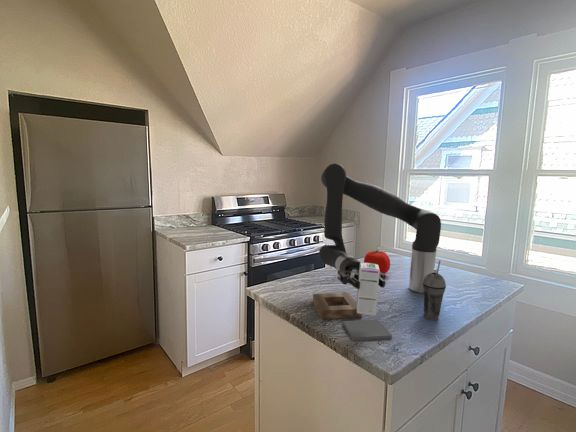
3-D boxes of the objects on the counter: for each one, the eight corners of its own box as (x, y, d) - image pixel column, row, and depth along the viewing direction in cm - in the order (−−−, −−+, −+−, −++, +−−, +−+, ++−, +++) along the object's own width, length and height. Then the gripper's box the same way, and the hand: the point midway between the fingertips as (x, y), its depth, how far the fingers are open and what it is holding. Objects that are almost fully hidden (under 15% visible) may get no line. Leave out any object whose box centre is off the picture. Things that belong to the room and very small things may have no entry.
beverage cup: (415, 312, 112) (420, 257, 109) (435, 312, 113) (440, 257, 110) (426, 322, 105) (431, 263, 102) (447, 321, 106) (453, 263, 103)
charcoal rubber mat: (377, 322, 104) (378, 319, 104) (391, 338, 95) (391, 335, 94) (342, 324, 103) (342, 321, 103) (352, 340, 93) (352, 337, 93)
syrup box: (376, 316, 95) (381, 269, 92) (355, 313, 96) (360, 267, 93) (374, 308, 100) (379, 263, 98) (355, 305, 101) (359, 261, 99)
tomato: (382, 269, 159) (384, 247, 158) (394, 278, 146) (396, 254, 145) (359, 270, 158) (360, 247, 156) (369, 279, 145) (371, 255, 143)
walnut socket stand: (348, 300, 121) (349, 292, 121) (361, 317, 108) (362, 308, 107) (312, 301, 120) (312, 294, 119) (321, 319, 106) (321, 310, 105)
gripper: (330, 257, 108) (349, 274, 92) (369, 256, 111) (394, 272, 95) (329, 278, 109) (348, 298, 93) (367, 276, 112) (392, 295, 97)
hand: (371, 285), depth 94 cm, fingers closed on syrup box, 7 cm apart
